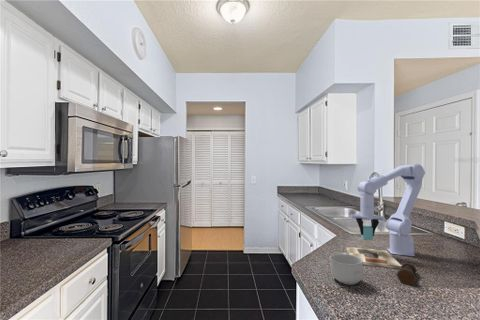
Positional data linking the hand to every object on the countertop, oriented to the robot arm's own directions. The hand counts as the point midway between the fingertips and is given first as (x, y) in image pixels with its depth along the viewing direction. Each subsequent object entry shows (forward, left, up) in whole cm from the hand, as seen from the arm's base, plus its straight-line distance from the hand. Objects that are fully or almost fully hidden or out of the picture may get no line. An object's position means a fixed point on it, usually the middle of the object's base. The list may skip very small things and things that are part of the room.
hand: (367, 234), depth 115 cm
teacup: (+14, +33, -9) cm, 37 cm away
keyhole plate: (0, +6, -9) cm, 11 cm away
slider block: (0, 0, -2) cm, 2 cm away
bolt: (-9, +24, -9) cm, 27 cm away
